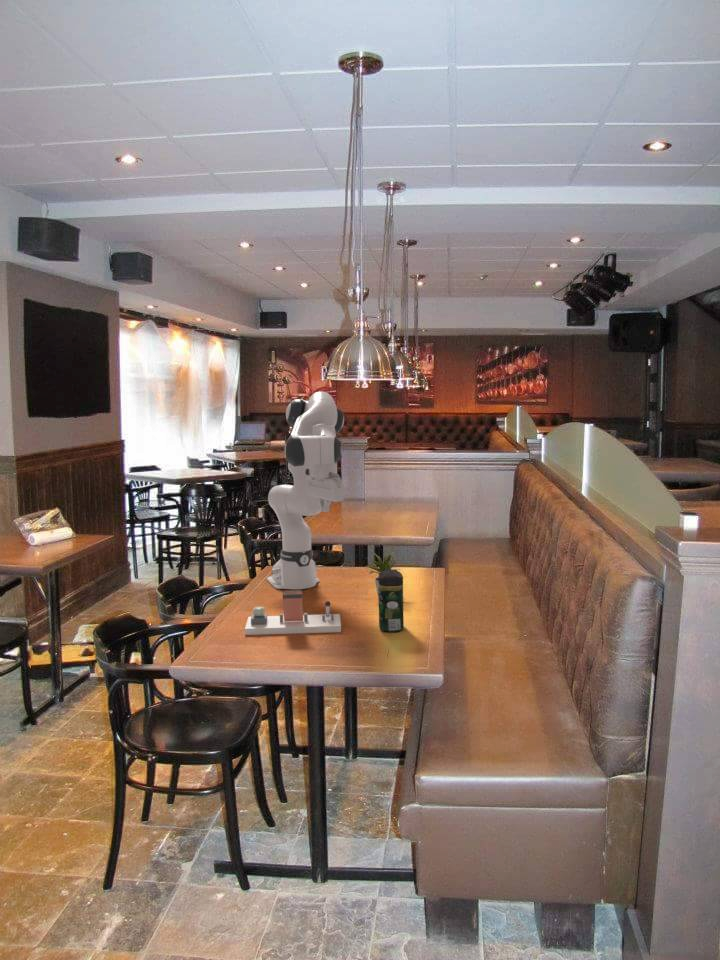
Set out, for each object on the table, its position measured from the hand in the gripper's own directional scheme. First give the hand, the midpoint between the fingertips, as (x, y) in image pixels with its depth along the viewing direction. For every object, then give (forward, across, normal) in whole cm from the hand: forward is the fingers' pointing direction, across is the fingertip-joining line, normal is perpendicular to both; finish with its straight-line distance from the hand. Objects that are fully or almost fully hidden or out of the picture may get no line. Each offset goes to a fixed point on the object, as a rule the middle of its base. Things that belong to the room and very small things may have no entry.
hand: (325, 511), depth 250 cm
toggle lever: (+32, -17, +10) cm, 37 cm away
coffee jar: (+34, -30, -6) cm, 46 cm away
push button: (+30, -6, +29) cm, 42 cm away
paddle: (+32, -11, +19) cm, 38 cm away
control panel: (+34, -11, +19) cm, 41 cm away
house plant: (+34, +2, -26) cm, 43 cm away
